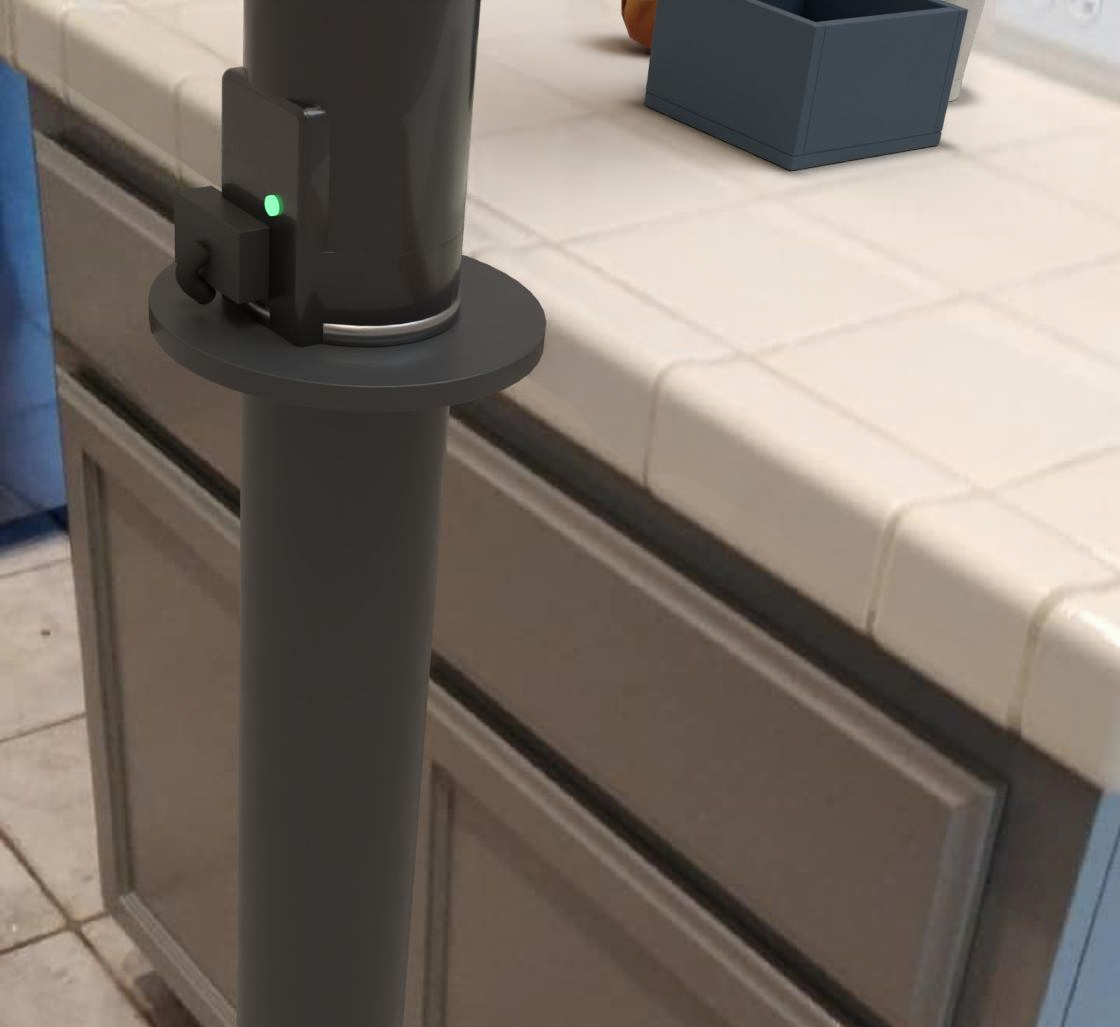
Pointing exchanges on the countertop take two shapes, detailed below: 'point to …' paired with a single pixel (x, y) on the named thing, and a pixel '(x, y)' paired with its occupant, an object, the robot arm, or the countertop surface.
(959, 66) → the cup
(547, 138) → the countertop surface
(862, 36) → the bin
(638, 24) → the hot dog
